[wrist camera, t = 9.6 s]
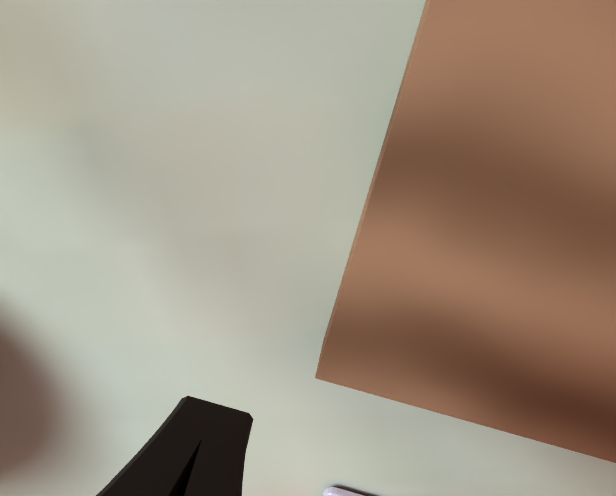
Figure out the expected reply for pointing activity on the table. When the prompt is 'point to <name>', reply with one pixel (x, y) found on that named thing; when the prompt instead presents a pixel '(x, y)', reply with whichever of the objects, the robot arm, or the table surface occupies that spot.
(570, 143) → the deck
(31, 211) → the table surface
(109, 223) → the table surface
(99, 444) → the table surface
